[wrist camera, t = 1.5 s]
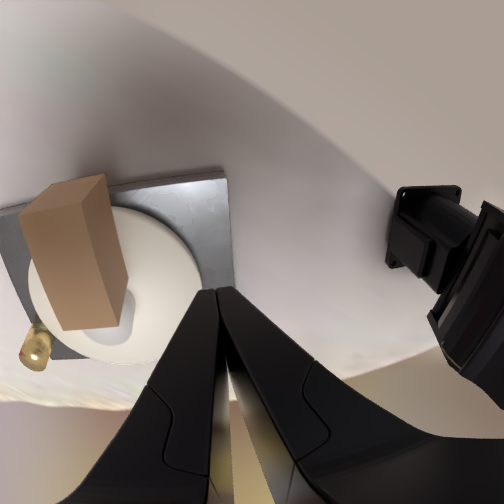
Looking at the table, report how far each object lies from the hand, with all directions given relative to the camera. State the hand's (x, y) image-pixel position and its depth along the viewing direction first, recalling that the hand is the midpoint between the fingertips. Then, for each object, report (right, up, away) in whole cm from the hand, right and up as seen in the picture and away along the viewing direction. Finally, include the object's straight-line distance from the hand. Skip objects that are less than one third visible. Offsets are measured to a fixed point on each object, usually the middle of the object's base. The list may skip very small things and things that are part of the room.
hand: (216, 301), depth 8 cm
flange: (-8, 0, +10) cm, 13 cm away
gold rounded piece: (-14, -4, +11) cm, 18 cm away
